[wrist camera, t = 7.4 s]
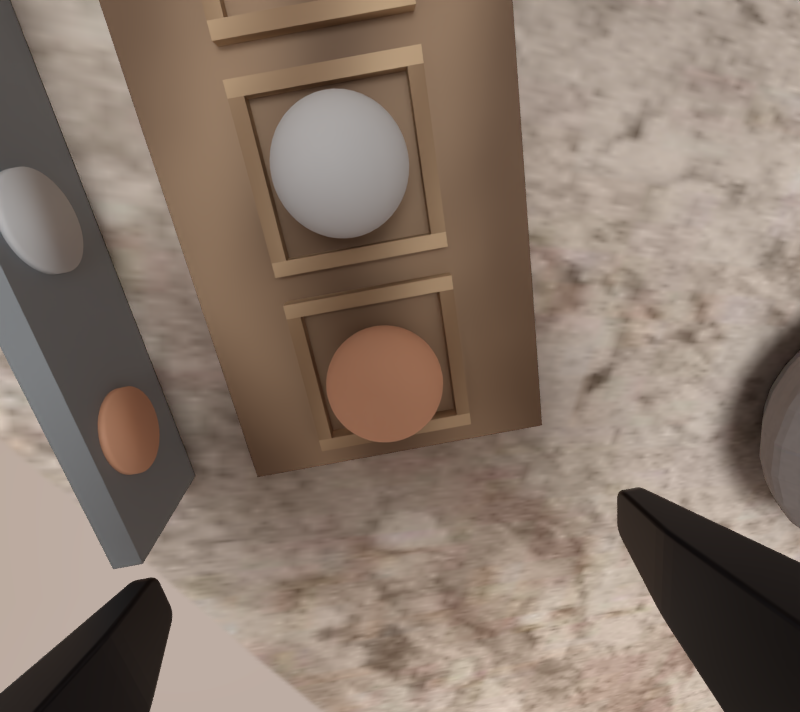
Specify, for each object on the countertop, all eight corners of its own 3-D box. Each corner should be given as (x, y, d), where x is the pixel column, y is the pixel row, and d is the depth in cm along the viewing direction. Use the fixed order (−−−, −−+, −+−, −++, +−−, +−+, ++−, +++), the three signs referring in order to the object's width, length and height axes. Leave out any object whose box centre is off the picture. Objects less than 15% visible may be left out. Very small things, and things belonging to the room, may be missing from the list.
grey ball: (392, 91, 15) (400, 59, 11) (412, 220, 16) (426, 231, 12) (268, 113, 15) (234, 89, 11) (299, 241, 16) (278, 258, 12)
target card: (-60, -207, 12) (-317, -442, 8) (201, 474, 20) (151, 561, 15) (-107, -198, 12) (-394, -428, 8) (172, 479, 20) (113, 569, 15)
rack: (479, -304, 12) (494, -372, 11) (533, 413, 20) (547, 432, 19) (40, -224, 12) (-6, -281, 11) (262, 463, 20) (254, 485, 19)
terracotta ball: (425, 303, 17) (444, 335, 13) (440, 398, 19) (460, 452, 15) (319, 322, 17) (307, 361, 13) (341, 417, 18) (337, 476, 15)
